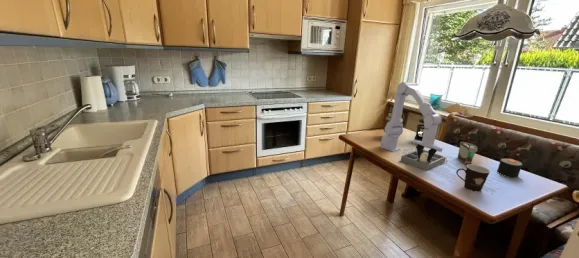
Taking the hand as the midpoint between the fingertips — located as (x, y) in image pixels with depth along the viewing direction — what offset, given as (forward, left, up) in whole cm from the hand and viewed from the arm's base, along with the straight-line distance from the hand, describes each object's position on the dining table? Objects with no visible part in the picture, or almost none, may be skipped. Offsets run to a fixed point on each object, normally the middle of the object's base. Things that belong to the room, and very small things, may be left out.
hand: (424, 159), depth 135 cm
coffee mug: (+24, -4, -4) cm, 24 cm away
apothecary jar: (-38, +30, -4) cm, 49 cm away
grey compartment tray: (-3, +7, -4) cm, 9 cm away
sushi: (+30, +31, -4) cm, 43 cm away
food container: (+11, +31, -4) cm, 33 cm away
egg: (0, 0, -2) cm, 2 cm away
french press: (-21, +41, -4) cm, 46 cm away
